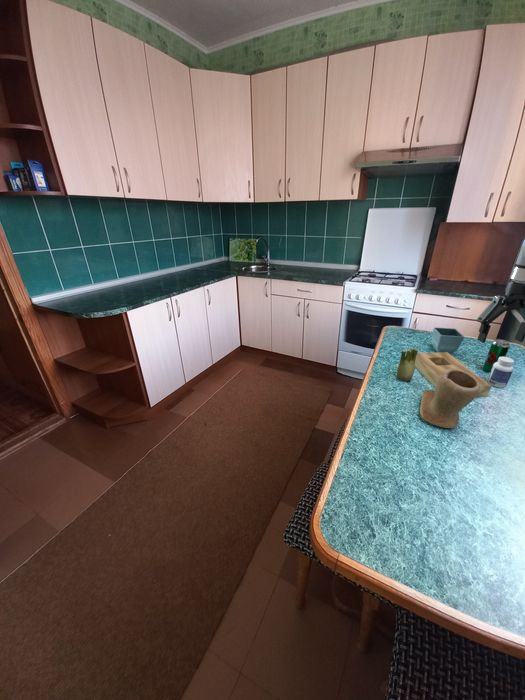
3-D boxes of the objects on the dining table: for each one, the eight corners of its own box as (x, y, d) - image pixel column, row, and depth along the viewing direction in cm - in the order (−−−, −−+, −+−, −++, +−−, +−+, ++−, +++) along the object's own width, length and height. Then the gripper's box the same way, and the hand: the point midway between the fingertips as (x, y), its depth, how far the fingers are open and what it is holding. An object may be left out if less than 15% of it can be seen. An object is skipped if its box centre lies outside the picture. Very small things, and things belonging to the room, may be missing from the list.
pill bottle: (509, 389, 97) (520, 363, 93) (491, 387, 98) (502, 362, 93) (500, 380, 102) (511, 356, 97) (483, 379, 103) (493, 354, 98)
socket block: (444, 361, 115) (447, 352, 113) (487, 396, 94) (491, 386, 92) (410, 362, 114) (412, 353, 113) (445, 397, 93) (448, 387, 92)
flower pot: (449, 347, 125) (455, 328, 121) (458, 357, 117) (465, 336, 113) (428, 346, 127) (433, 327, 123) (435, 355, 119) (440, 335, 115)
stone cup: (465, 438, 77) (483, 391, 71) (416, 422, 83) (428, 378, 76) (464, 407, 89) (480, 365, 82) (421, 395, 95) (433, 355, 88)
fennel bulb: (395, 381, 103) (402, 350, 97) (394, 374, 107) (400, 344, 101) (413, 383, 101) (421, 353, 95) (411, 376, 105) (419, 346, 100)
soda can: (497, 375, 104) (510, 346, 99) (481, 371, 107) (492, 341, 102) (499, 370, 108) (511, 341, 102) (483, 365, 111) (494, 337, 105)
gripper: (551, 277, 96) (525, 335, 106) (477, 278, 96) (458, 337, 106) (573, 283, 90) (543, 344, 99) (494, 284, 89) (472, 346, 99)
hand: (499, 340), depth 103 cm, fingers open, 13 cm apart
